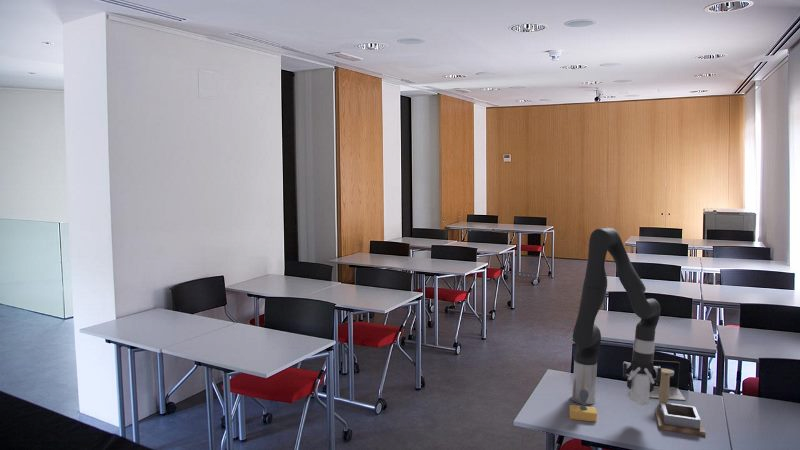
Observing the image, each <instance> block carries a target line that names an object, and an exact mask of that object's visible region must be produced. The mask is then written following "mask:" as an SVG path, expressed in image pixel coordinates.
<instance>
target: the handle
mask: <svg viewBox="0 0 800 450" xmlns="http://www.w3.org/2000/svg"><path fill="white" fill-rule="evenodd" d="M673 375H674V371H673V370H670V369H664V368H661V380H660V387H659V398H658V404H659V405H660V406H661V402H665V403H669V400H670V399H669V381H670V376H673Z"/></svg>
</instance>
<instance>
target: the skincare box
mask: <svg viewBox="0 0 800 450" xmlns="http://www.w3.org/2000/svg"><path fill="white" fill-rule="evenodd" d="M631 371H632V370H631ZM632 372H633V371H632ZM629 390H630V395H629V400H630V401H631V402H634V403H636V404H637V405H639V406H647V405H649V404H650V397H649V393H650V379H649V378H648V375H646V374H638V373H637V374H636V375H635V376H634V377H633V378H632V379H631V389H629Z"/></svg>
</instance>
